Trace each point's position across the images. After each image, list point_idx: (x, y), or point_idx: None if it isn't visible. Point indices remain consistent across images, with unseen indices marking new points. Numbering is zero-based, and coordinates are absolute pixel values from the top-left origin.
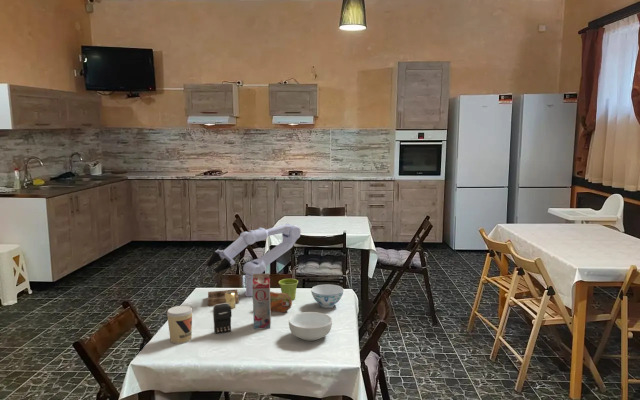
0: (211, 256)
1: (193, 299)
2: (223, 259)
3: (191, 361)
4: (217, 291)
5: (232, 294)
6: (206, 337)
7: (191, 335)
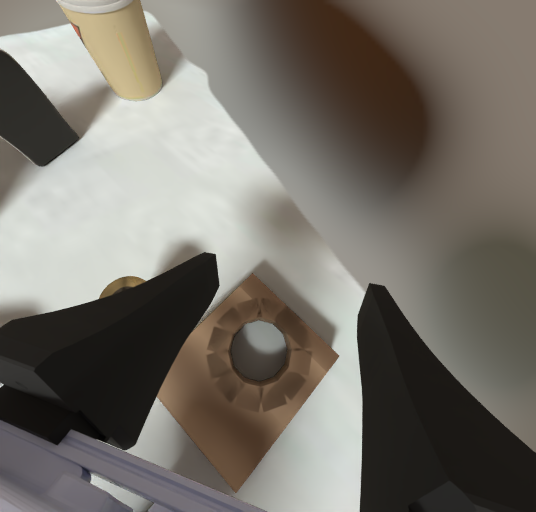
0: (454, 378)
1: (361, 303)
2: (82, 338)
3: (42, 35)
4: (305, 387)
5: (102, 294)
6: (81, 111)
7: (111, 87)
